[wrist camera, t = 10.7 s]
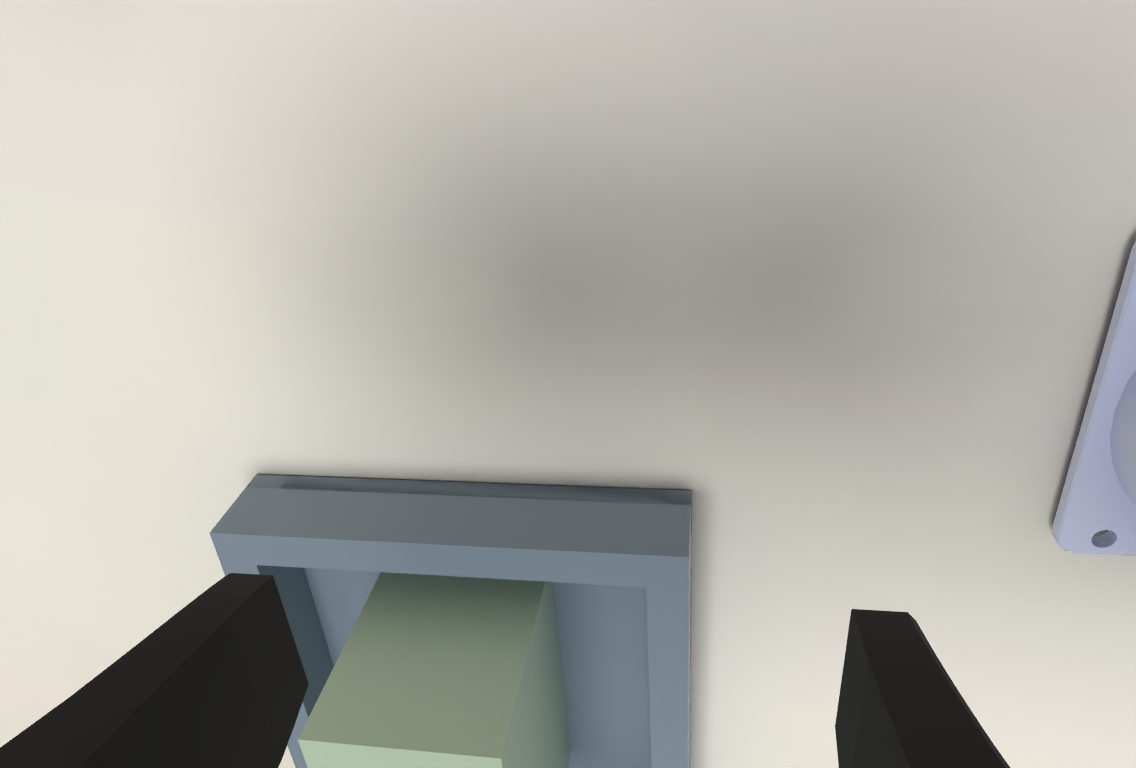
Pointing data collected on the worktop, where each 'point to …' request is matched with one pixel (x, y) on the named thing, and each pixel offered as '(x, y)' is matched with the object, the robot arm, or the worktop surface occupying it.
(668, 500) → the tray
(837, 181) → the worktop surface
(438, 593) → the tall sage green block
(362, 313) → the worktop surface
